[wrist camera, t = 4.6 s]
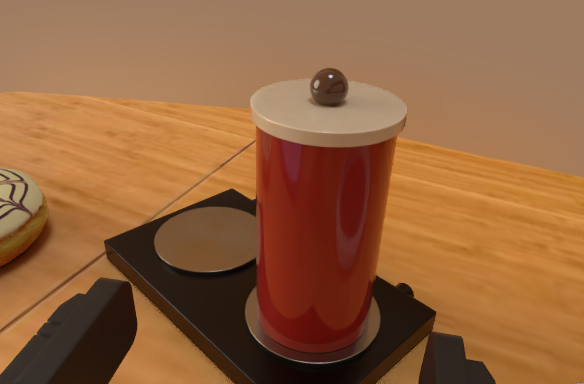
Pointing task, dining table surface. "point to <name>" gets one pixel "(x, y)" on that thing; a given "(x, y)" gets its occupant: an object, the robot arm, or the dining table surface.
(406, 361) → the dining table surface
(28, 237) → the decorated donut
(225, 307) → the flat stove
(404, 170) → the dining table surface
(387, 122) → the lidded canister
